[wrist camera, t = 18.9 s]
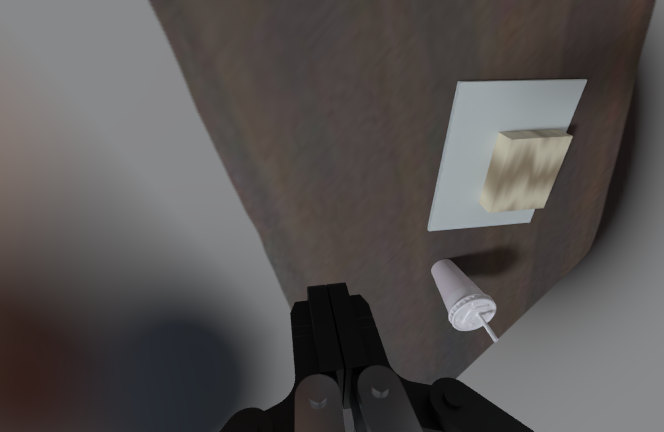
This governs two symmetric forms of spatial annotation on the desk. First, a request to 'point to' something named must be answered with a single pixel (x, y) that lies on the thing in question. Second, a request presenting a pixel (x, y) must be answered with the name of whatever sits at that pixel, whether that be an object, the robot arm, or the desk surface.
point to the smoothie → (463, 298)
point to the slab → (523, 169)
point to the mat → (493, 142)
